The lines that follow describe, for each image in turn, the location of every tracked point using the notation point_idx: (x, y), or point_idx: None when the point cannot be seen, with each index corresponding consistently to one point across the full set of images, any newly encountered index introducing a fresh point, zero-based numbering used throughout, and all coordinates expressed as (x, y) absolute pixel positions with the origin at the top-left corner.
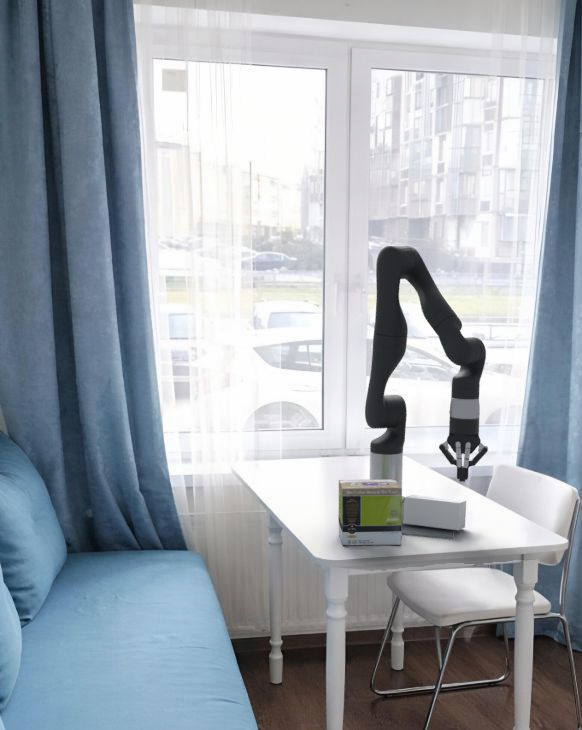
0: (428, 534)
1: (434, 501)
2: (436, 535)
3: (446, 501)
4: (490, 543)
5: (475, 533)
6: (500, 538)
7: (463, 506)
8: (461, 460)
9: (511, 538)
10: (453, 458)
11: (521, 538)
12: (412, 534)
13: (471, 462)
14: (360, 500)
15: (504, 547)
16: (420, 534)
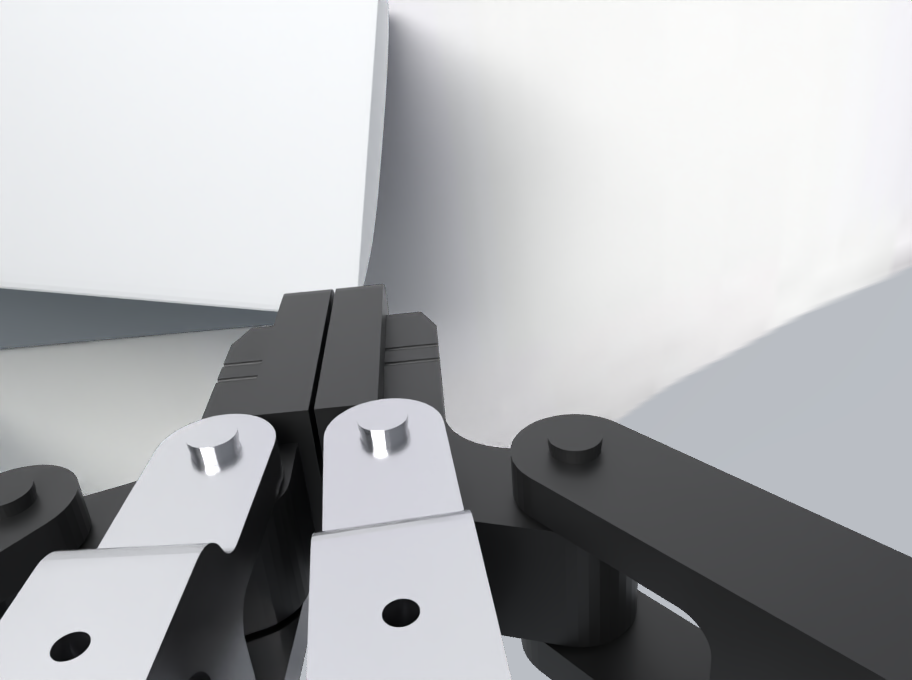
0: (150, 316)
1: (51, 290)
2: (216, 318)
3: (195, 303)
4: (626, 305)
5: (496, 93)
6: (703, 155)
7: (376, 142)
8: (285, 677)
9: (792, 120)
10: (11, 585)
11: (875, 88)
12: (33, 344)
13: (544, 666)
14: None
15: (722, 354)
16: (94, 339)
